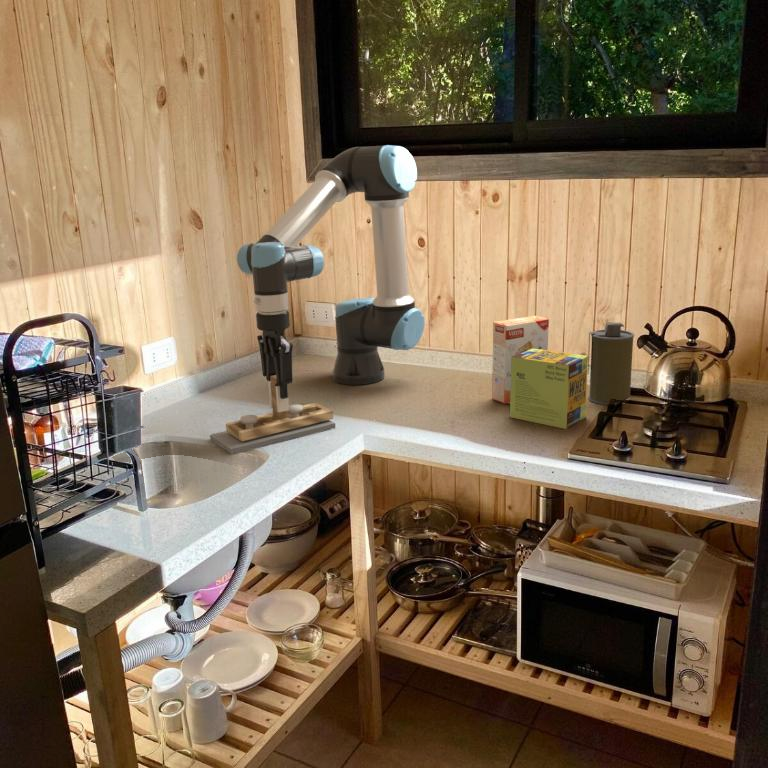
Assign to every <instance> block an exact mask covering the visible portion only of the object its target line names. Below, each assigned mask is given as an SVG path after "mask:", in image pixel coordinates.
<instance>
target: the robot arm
mask: <svg viewBox="0 0 768 768" xmlns="http://www.w3.org/2000/svg"><path fill="white" fill-rule="evenodd" d="M417 179H418V170H417V164H416V161H415V159H414V157H413V155H412V153H410V152H409V150H408V149H407V148H405V147H403V146H401V145H392V144H391V145H390V144H386V145H376V146H375V145H373V146H372V145H371V146H355V147H351V148H348V149H346V150H344V151H342V152H341V153H339V154H337V155H336V156H335V157H334V158H332V159H330V161H328V162H327V163H326V164H325V165H324V166H323V167H322V168H321V169H320V170H319V171H318V172H317V173H316V175H315V177H314V182H313V183H312V184H311V185H310V186H309V187H308V188H307V189H306V190H305V191H304V193H302V194H301V195H300V196H299V198H298V199H297V200H296V201H295V202H294V203H293V204H292V205H290V207H289V208H288V209H287V210H285V212H284V213H283V215H281V217H280V218H278V220H277V221H276V222H275V223H273V225H272V226H271V227H270V228H269V229H268V230H267V231H266V232H265V233H264V234H263V235H262V237H260V238H259V239H258V240H257V241H256V243H253V242H252V243H246V244H244V245H242V246H241V247H240V248H239V249H238V251H237V255H236V263H237V266H238V268H239V270H240V271H242V272H243V273H244V274H247V275H251V276H252V281H253V282H252V283H253V290H254V299H253V303H254V304H255V305H254V306H255V311H256V312H257V313H256V314H255V317H256V321H255V322H256V329H257V330H259V331H262V334H261V335H257V336H256V337H257V342H258V345H259V347H258V348H259V353H260V354H259V355H260V362H261V368H262V369H261V371H262V376H263V377H266V378H265V379H266V381H267V385H268V396H269V407H270V409H272V410H273V405H272V392H271V380H270V376H273V375H276V378H277V383H276V384H275V386H276V399H277V412H283V411H287V410H289V402H290V400H289V390H288V387H289V386H288V385H289V384H293V355H292V354H293V348H294V345H293V342H288V341H287V337H286V332H285V331H286V329H289V328H290V326H291V321H290V312H289V311H288V310H289V308H290V307H289V292H288V283H290V282H294V281H300V280H305V279H307V280H308V279H311V278H313V277H316V276H318V275H320V274H321V273H322V271H323V269H324V268H325V257H324V254H323V252H322V251H321V249H320V248H318V246H316V245H313V244H312V245H311V244H309V245H305V244H303V245H302V246H297V245H298V244H299V243H300V242H301V241H302V239H304V237H305V236H306V235H308V233H309V232H311V230H312V229H313V228H314V227H315V225H317V223H318V222H319V221H320V220H321V219H322V218H324V216H325V214H327V212H328V211H330V209H331V208H332V207H333V206H334V205H335V204H336V203H340V202H342V201H344V200H345V199H346V197H348V196H349V195H352V194H355V193H364V194H363V195H364V201H365V203H366V204H367V205H369V206H370V207H371V208H370V210H371V212H370V213H371V225H372V237H373V239H372V240H373V252H374V254H373V255H374V265H375V266H374V267H375V283H376V297H361V298H353V299H348V300H344V301H341V302H339V303H337V304H336V305H335V316H334V319H335V332H336V334H335V335H336V347H337V354H336V357H335V361H334V365H333V369H332V380H333V382H335V383H338V384H343V385H350V386H351V385H352V386H353V385H354V386H356V385H357V386H358V385H367V384H373V383H377V382H380V381H382V380H384V379H385V375H386V374H385V367H384V364H383V362H382V360H381V357H380V354H379V349H378V348H386V349H391V350H394V351H409V350H411V349H413V348H414V347H416V346H417V345H418V344H419V342H420V340H421V338H422V337H423V333H424V330H425V323H426V322H425V315H424V314H423V312H422V311H421V310H420V309H419V308H417V307H416V303H415V298H414V297H413V296H412V295H410V291H409V279H408V260H407V259H408V258H407V244H406V242H407V241H406V240H407V239H406V226H405V223H406V222H405V203H406V202H407V201H408V200H409V199H410V195H409V194H410V192H411V191H412V190H414V188H415V186H416V182H417Z"/></svg>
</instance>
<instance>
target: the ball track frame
mask: <svg viewBox="0 0 768 768" xmlns="http://www.w3.org/2000/svg"><path fill="white" fill-rule="evenodd" d="M270 380H271V392H272V405H273V408H272V412H269V413H264V414H259V415H256V416H257V422H256V423H253V426H254V428H250V429H246V425H245V424H242V423H241V419H238V420H234V421H231V422H225V431H227V432H228V433H230V434H231V435H233V436H234V437H236V438H238V439H239V440H241V441H246V440H250V439H254V438H258V437H262V436H266V435H270V434H274V433H278V432H282V431H286V430H290V429H294V428H298V427H302V426H306V425H310V424H314V423H319V422H323V421H327V420H330V421H332V420H333V419H334V412H333V410H331V409H329V408H327V407H325V406H323V405H321V404H319V403H317V402H312V403H307V404H304V405H302V406H303V411H302V412H300V413H299V416H300V417H296V418H292V417H291V413H288V412H287V411H283V412H277V399H276V386H275V384H276V383H277V378H276V375H273V376H270ZM290 418H292V419H290ZM244 429H246V430H244Z"/></svg>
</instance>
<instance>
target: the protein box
mask: <svg viewBox="0 0 768 768" xmlns="http://www.w3.org/2000/svg"><path fill="white" fill-rule="evenodd" d="M587 382H588V355H586V354H585V355H584V354H577V353H571V352H570V353H569V352H564V351H563V352H562V351H554V350H541V349H530V350H527V351H525V352H522V353H520V354H517V355H515V356H512V357H511V392H510V403H509V404H510V405H509V409H510V410H509V417H510V418H512V419H517V420H521V421H527V422H532V423H536V424H540V425H546V426H550V427H555V428H560V429H565V430H566V429H568V428H570V427H572V426H573V425H575V424H576V423H578V422H579V421H582V420H583V419H585V418H586V416H587V415H586V414H587V413H586V412H587V410H586V409H587V387H588V385H587Z"/></svg>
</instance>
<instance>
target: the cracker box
mask: <svg viewBox="0 0 768 768" xmlns="http://www.w3.org/2000/svg"><path fill="white" fill-rule="evenodd" d="M549 323H550V319H549V318H547V317H543V316H538V315H530V316H523V317H518V318H517V317H516V318H511V319H504V320H498V321H493V325H492V327H493V330H492V331H493V332H492V372H491V373H492V377H491V379H492V380H491V382H492V383H491V384H492V385H491V387H492V388H491V399H492V400H494V401H497V402H499V403H502V404H504V405H505V404H510V392H511V357H512V356H515V355H517V354H520V353H522V352H525V351H527V350H530V349H541V350H548V348H549V327H550V326H549ZM548 351H549V350H548Z"/></svg>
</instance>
